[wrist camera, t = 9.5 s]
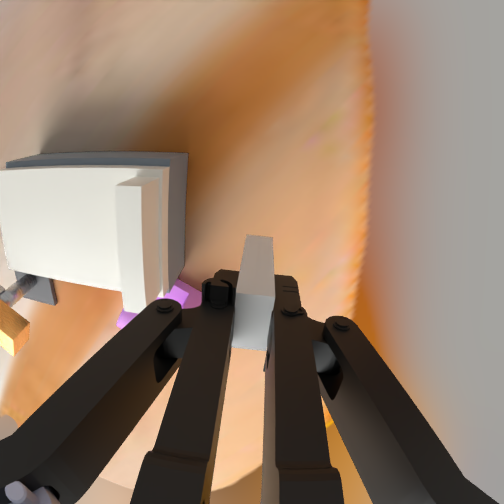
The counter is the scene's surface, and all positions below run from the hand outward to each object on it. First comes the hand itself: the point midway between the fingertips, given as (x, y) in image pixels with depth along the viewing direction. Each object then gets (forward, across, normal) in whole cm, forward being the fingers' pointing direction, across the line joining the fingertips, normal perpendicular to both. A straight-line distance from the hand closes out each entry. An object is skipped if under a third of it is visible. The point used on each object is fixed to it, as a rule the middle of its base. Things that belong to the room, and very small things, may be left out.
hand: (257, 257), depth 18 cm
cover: (+3, -14, 0) cm, 15 cm away
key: (+7, -26, -9) cm, 29 cm away
